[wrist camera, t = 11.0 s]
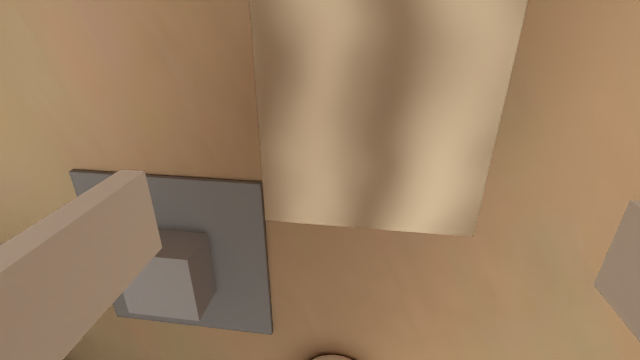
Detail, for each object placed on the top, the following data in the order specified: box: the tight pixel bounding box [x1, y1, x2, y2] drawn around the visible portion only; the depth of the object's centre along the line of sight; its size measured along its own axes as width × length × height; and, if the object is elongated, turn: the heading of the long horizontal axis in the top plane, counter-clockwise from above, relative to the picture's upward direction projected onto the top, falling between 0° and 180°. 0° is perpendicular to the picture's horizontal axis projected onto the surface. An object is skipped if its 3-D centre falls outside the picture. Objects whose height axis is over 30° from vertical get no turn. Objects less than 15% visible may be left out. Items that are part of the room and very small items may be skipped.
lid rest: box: [69, 170, 273, 335], centre depth 34 cm, size 18×18×4 cm
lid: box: [249, 0, 528, 237], centre depth 19 cm, size 12×12×2 cm
